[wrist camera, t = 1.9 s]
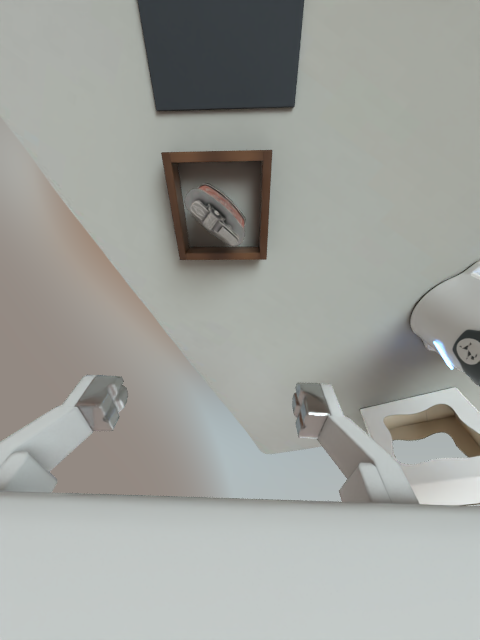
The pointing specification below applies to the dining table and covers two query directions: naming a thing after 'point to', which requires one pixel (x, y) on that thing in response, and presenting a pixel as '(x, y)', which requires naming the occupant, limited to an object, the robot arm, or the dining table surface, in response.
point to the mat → (222, 52)
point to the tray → (179, 214)
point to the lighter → (216, 214)
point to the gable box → (422, 421)
